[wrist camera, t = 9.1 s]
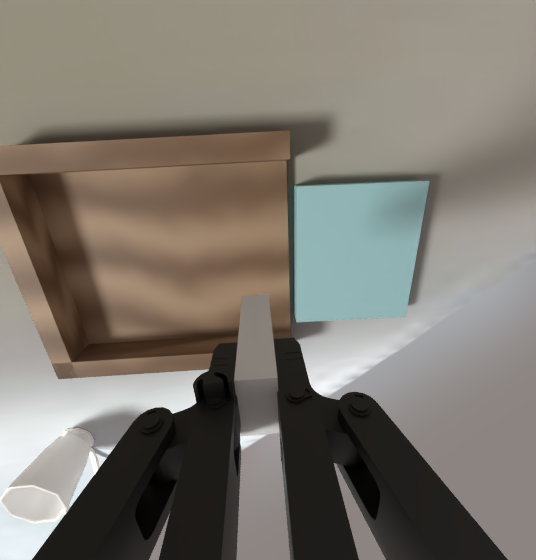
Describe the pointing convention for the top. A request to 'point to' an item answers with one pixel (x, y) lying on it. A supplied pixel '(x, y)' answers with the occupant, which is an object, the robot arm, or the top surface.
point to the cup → (51, 479)
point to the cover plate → (355, 248)
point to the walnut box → (146, 246)
